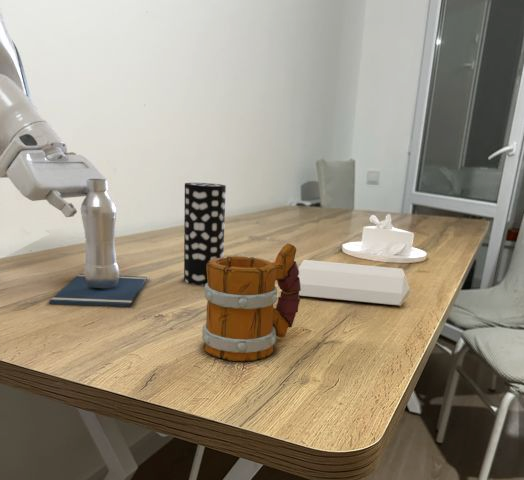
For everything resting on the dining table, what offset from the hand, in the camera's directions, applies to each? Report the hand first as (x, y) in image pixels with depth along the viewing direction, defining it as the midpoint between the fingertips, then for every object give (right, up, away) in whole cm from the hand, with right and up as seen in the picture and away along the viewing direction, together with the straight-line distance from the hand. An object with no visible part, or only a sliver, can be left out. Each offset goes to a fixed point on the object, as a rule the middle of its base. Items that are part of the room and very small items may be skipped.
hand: (89, 212), depth 95 cm
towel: (+1, -14, +5) cm, 15 cm away
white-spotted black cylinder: (+19, -10, +17) cm, 28 cm away
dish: (+68, +3, +60) cm, 91 cm away
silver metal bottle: (+1, -13, +5) cm, 14 cm away
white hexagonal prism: (+50, -15, +11) cm, 53 cm away
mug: (+30, -25, -17) cm, 43 cm away
